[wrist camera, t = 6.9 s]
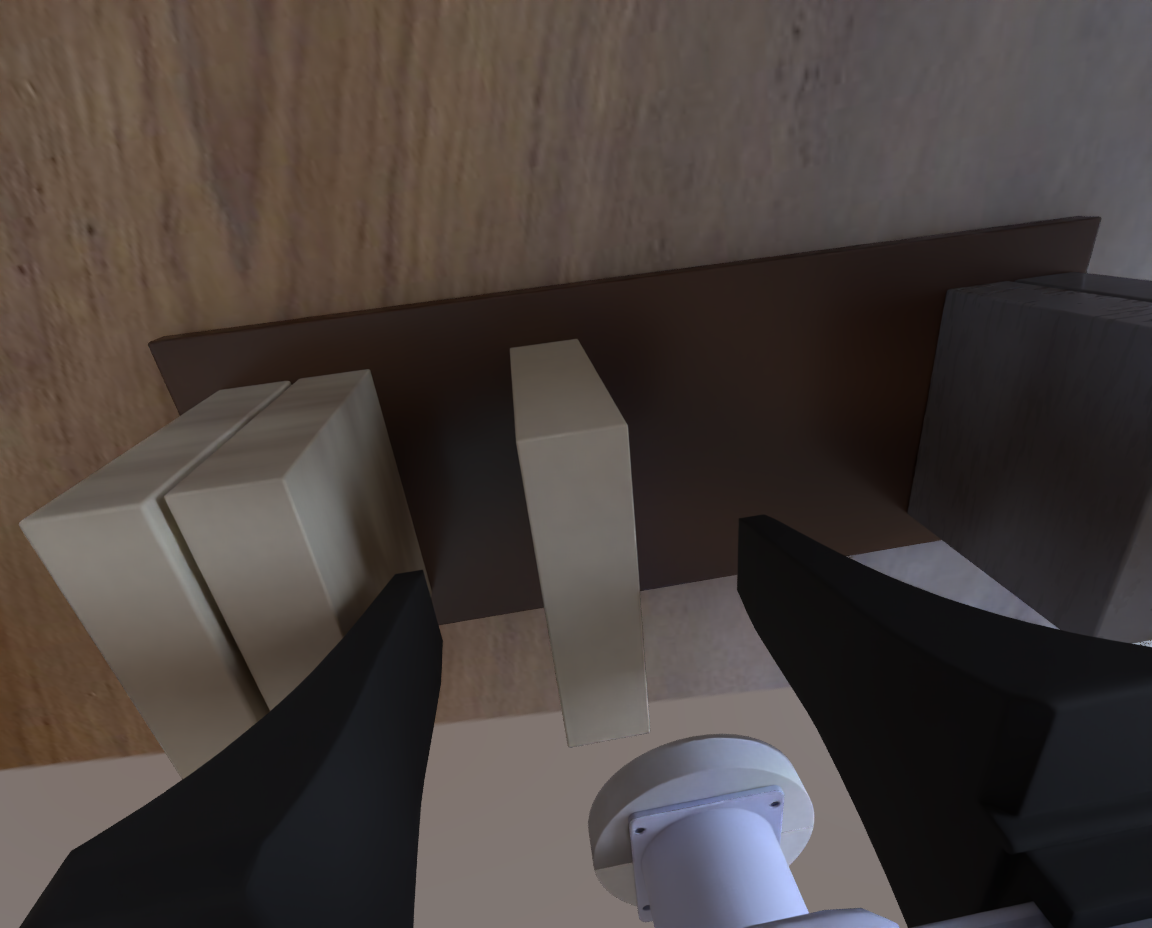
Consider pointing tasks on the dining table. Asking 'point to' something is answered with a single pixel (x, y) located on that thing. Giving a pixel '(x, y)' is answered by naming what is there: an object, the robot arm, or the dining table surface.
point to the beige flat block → (582, 538)
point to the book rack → (657, 453)
